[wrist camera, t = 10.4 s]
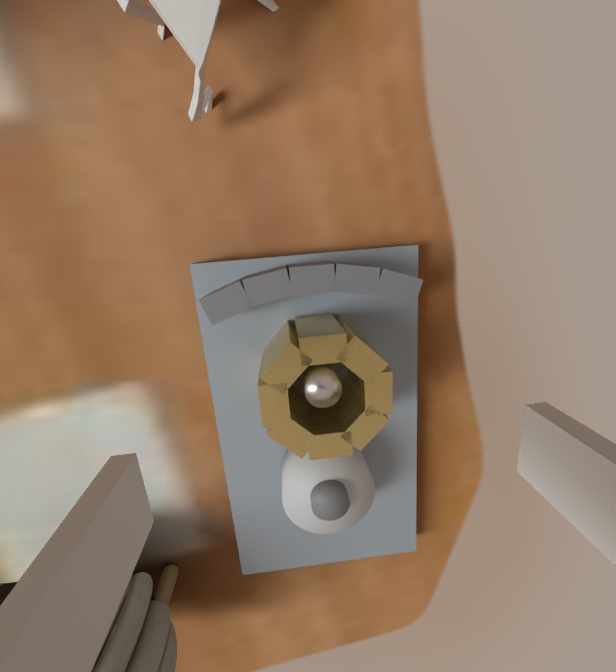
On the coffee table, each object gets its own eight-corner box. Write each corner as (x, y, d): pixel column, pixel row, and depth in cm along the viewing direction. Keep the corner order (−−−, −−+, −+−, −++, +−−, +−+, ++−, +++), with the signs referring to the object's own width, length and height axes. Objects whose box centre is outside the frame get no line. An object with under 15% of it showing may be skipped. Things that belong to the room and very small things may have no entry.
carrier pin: (298, 349, 22) (303, 375, 18) (328, 346, 22) (340, 371, 18) (301, 378, 22) (306, 409, 18) (330, 375, 23) (343, 405, 18)
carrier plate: (195, 263, 21) (169, 268, 16) (409, 244, 22) (447, 244, 17) (244, 558, 28) (236, 628, 23) (409, 535, 29) (437, 598, 24)
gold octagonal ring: (257, 320, 21) (251, 342, 16) (366, 310, 22) (391, 328, 17) (270, 419, 23) (267, 465, 18) (369, 408, 24) (393, 450, 19)
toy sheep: (34, 487, 25) (-154, 672, 14) (247, 554, 28) (227, 746, 17) (-5, 591, 27) (-194, 822, 16) (197, 642, 30) (153, 863, 19)
